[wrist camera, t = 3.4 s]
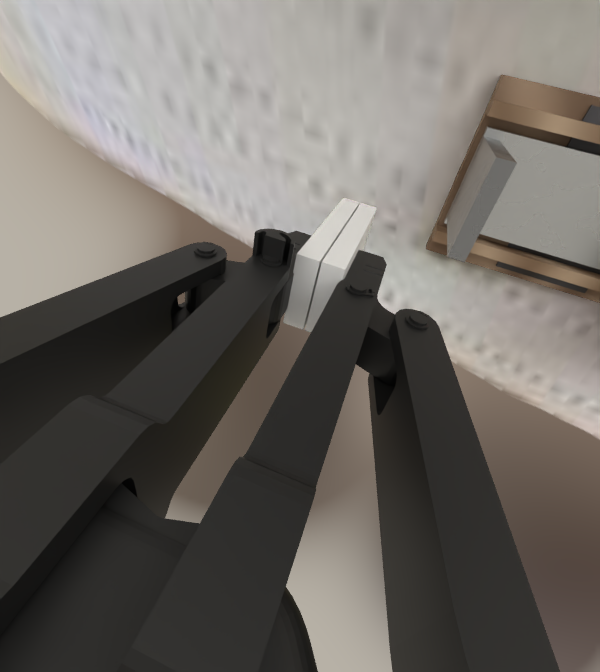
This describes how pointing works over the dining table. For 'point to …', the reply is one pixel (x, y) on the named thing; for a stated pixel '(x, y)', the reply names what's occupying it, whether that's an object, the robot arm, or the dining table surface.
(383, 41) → the dining table surface
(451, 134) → the dining table surface
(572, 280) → the tunnel board
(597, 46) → the dining table surface
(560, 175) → the grey u-shaped piece
